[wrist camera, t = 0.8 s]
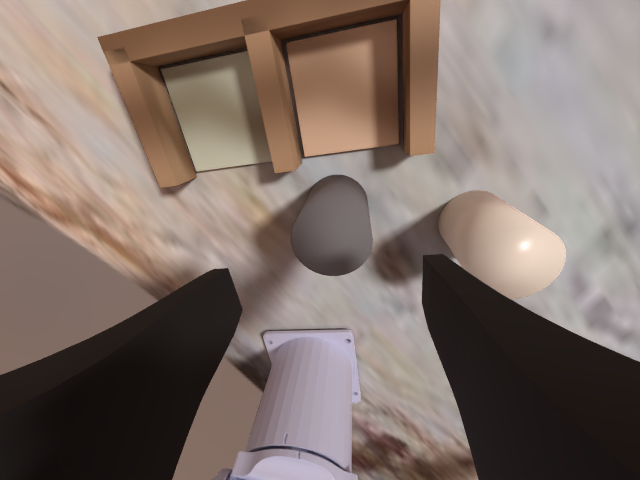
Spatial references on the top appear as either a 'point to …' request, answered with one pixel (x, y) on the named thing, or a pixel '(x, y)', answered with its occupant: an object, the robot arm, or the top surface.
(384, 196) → the top surface
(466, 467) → the top surface
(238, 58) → the open-sided tray
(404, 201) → the top surface
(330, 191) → the charcoal plug
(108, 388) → the robot arm
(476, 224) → the cream plug
